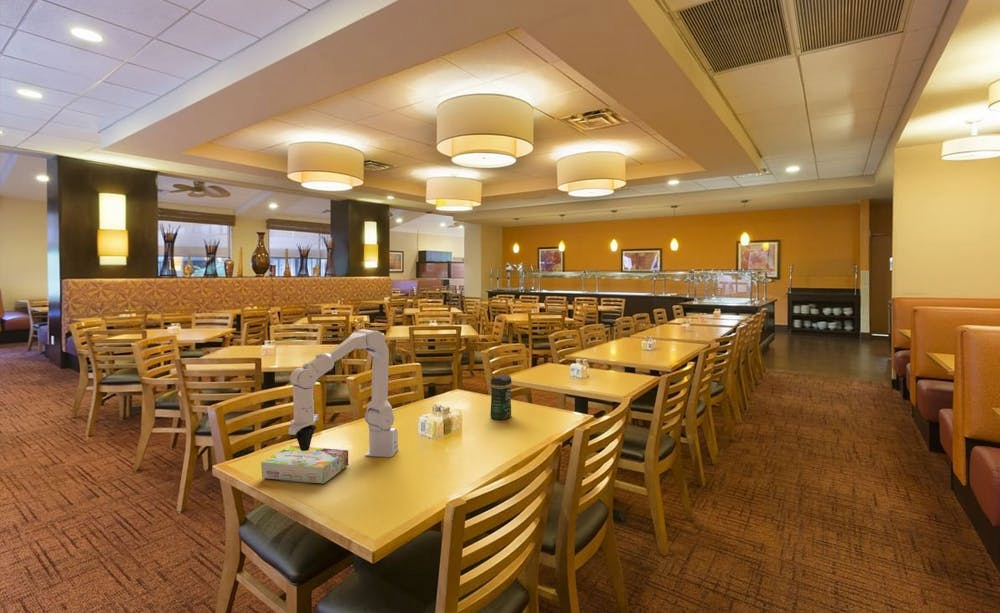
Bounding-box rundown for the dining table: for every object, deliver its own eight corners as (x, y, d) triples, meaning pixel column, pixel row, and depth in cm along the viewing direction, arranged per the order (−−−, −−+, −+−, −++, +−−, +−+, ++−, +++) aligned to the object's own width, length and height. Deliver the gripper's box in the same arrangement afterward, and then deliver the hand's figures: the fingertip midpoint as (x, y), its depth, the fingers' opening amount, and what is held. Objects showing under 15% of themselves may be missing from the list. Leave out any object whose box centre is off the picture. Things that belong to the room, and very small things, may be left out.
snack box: (348, 448, 158) (323, 467, 143) (349, 464, 159) (324, 485, 144) (290, 444, 162) (259, 462, 147) (291, 460, 163) (260, 480, 148)
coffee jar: (503, 421, 207) (503, 378, 206) (487, 418, 211) (487, 376, 210) (514, 415, 215) (514, 374, 214) (499, 413, 219) (499, 372, 218)
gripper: (303, 400, 157) (304, 441, 158) (278, 413, 142) (279, 458, 143) (324, 401, 156) (325, 442, 157) (301, 413, 142) (302, 459, 143)
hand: (304, 450), depth 150 cm, fingers closed
